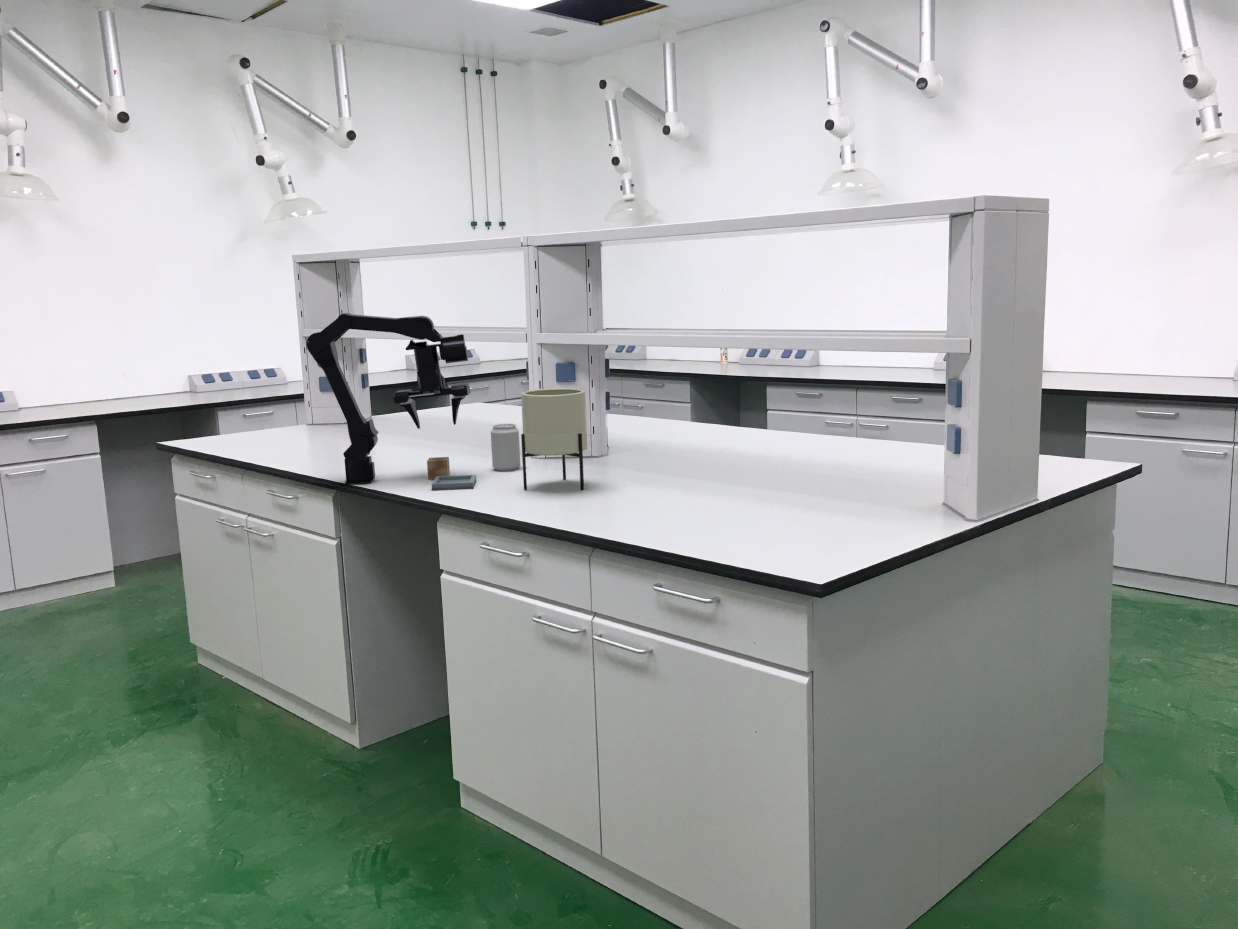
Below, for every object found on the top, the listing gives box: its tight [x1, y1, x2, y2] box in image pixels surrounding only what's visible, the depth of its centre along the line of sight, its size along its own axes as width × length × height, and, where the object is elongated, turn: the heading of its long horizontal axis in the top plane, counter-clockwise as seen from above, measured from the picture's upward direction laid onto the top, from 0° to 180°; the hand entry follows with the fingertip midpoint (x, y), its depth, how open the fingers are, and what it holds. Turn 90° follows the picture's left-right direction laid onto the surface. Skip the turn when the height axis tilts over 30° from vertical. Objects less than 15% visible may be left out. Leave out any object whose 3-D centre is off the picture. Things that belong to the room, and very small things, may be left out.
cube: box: [426, 456, 451, 481], centre depth 251 cm, size 5×5×5 cm
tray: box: [431, 474, 477, 491], centre depth 241 cm, size 10×10×2 cm
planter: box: [520, 388, 588, 491], centre depth 234 cm, size 15×16×23 cm
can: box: [490, 423, 521, 472], centre depth 259 cm, size 8×8×12 cm
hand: (437, 426), depth 249 cm, fingers open, 9 cm apart
